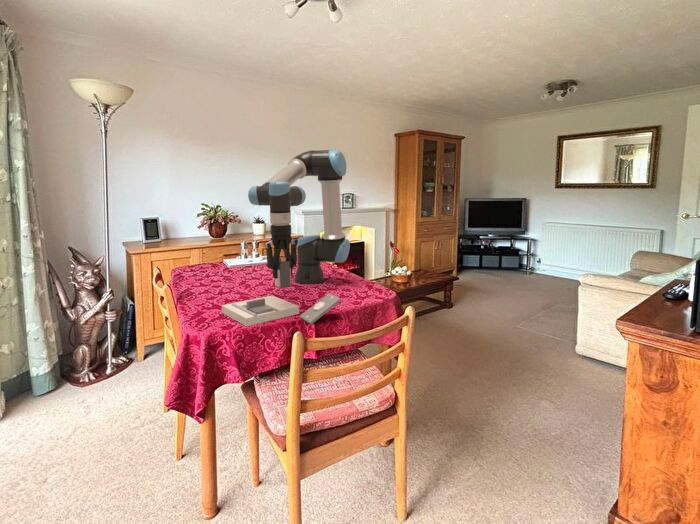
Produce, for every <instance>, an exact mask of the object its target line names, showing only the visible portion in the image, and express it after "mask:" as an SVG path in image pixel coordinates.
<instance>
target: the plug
mask: <svg viewBox="0 0 700 524" xmlns="http://www.w3.org/2000/svg"><path fill="white" fill-rule="evenodd" d="M278 270H280V285H281V287H277V286H275V287H276V288H279V289H281V290H282V289H288V288H291V285H292V284H291V285H290V261H287V260H286V258H285V257H283V256H282V257H280V258H279V265H278Z"/></svg>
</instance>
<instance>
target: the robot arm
mask: <svg viewBox="0 0 700 524" xmlns="http://www.w3.org/2000/svg"><path fill="white" fill-rule="evenodd" d="M346 174H347V162H346V157H345V156H344V153H343V152H342V151H341V150H336V149H328V150H327V149H326V150H324V149H321V150H307V151H304V152H301V153H300V154H298V155H296V156H295V157H292V158H291V159H290V160H289V161H288V162H287V165H286V166H285V167H284V168H282V169H281V170H280V171H278V172H277V173H276V174H275V175H273V176H272V177H271V178H270V179H268V180H267V181H265V182H264V183H263V184H262V185H256V186H254V185H253V186H251V187H250V188H249V189H248V193H247V197H248V201H249V202H250V204H251V205H253V206H260V207H261V206H269V222H270V224H271V225H270V235H271V238H270V240H269V241H267V242H264V244H263V245H264V247H265V251H266V262H267V264H266V265H267V268H268V269H269V270H272V278H273V279H274V286H275V287H276V286H277V287H276V288H278V287H281V285H280V270H278V265H279V258H281V252H282V251H283V254H284V258H286V260H287V261H290V285H292V276H293V269H294V267H295V266H297V268H296V271H295V274H294V282H295V283H298V284H304V285H305V284H307V285H308V284H311V285H312V284H318V283H322V282H324V281H325V275H324V272H323V268H322V266H321V262H324V263H326V262H327V263H335V264H337V263H340V264H341V263H344V262H346V261H347V259H348V257H349V253H350V249H351V243H350V240H349V239H346V234H344V232H343V231H342V230H343V229H342V228H343V227H342V210H341V209H342V208H341V189H340V184H341V182H342V181H343V177H344V176H346ZM305 177H317V181H318V182H319V183H320V184H321V185H320V186H321V199H322V215H323V230H324V233H322V235H320V234H314V235H312V234H311V235H307V236H305V235H304V236H300V237H299V238H297V239H295V238H294V239H293V237H292V226H291V225H292V224H291V223H292V218H291V217H292V216H291V212H292V211H291V207H299V206H301V205H302V204H304V203H305V202H306V198H307V194H306V192H305V190H304V189H303V187H301V186H297V185H293V184H294V183H296V181H297V180H301V179H303V178H305ZM292 185H293V186H292Z"/></svg>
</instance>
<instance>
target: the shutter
mask: <svg viewBox="0 0 700 524" xmlns="http://www.w3.org/2000/svg"><path fill="white" fill-rule="evenodd" d="M261 298H262V297H261ZM256 299H257V298H256ZM251 300H252V299H251ZM246 301H247V300H246ZM247 310H249V311H251V312H253V313H255V314H260V313H265V312H269V311H273V308H271V307H269V306H266V305H265V299H264V298H262V299H257V300H252V301H247Z"/></svg>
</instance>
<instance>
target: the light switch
mask: <svg viewBox="0 0 700 524" xmlns="http://www.w3.org/2000/svg"><path fill="white" fill-rule="evenodd" d="M340 302H342V299H341V298H340V297H339V296H336V295H334V294H332V293H331V292H330V293H327V294H326V295H325V296H324V297H322V298H321V299H319V301H317V302H315V304H313V305H312V306H310V307H309V308H308V309H307V310H306V311H305V310H304V312H302V313H301V314H299V318H300V319H302V320H304V321H305V322H306V323H308V325H313V324H315V322H317V321H318V320H319V319H320V318H321V317H323V316H324V315H325V314H327V313H328V312H329V311H330V310H332V309H334V307H336V306H337V305H338V304H339V303H340Z"/></svg>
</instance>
